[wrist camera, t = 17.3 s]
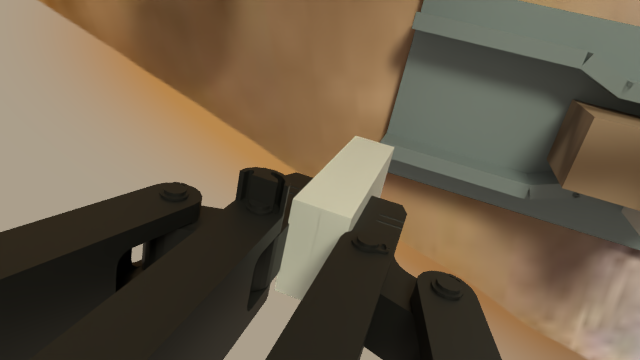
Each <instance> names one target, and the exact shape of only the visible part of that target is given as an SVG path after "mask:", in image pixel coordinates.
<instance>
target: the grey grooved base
mask: <svg viewBox="0 0 640 360" xmlns="http://www.w3.org/2000/svg"><path fill="white" fill-rule="evenodd" d="M412 29H416V30H415V34H414V37H413V41H412V44H411V48H410V52H409V55H408V59H407V62H406V66H405V70H404V73H403V77H402V80H401V84H400V87H399V91H398V95H397V98H396V102H395V105H394V109H393V112H392V116H391V120H390V123H389V127H388V130H387V133H386V135H385V136H384V137H383V139H382V140H381V142H380V143H382V144H385V145H389V146H392V147H395V148H394V151H393V154H392V158H391V161H390V165H389V168H388V172H389V173H392V174H395V175H398V176H401V177H405V178H408V179H411V180H414V181H418V182H421V183H424V184H427V185H431V186H434V187H437V188H440V189H443V190H447V191H450V192H453V193H456V194H460V195H463V196H466V197H469V198H473V199H476V200H479V201H482V202H485V203H489V204H492V205H495V206H498V207H502V208H505V209H508V210H511V211H515V212H518V213H521V214H524V215H527V216H531V217H534V218H537V219H540V220H544V221H547V222H550V223H553V224H556V225H560V226H563V227H566V228H569V229H573V230H576V231H579V232H582V233H586V234H589V235H592V236H595V237H598V238H602V239H605V240H608V241H611V242H615V243H618V244H621V245H624V246H628V247H631V248H634V249H637V250H640V211H638V210H635V209H631V208H628V207H625V206H621V205H618V204H614V203H611V202H608V201H604V200H601V199H597V198H594V197H591V196H587V195H584V194H580V193H577V192H574V191H570V190H567V189H563V188H562V187H561V185H560V184H559V182H558V180H557V178H556V176H555V174H554V172H553V170H552V168H551V166H550V165H549V163H548V161H547V157H548V154H549V152H550V150H551V148H552V145H553V143H554V141H555V138H556V136H557V134H558V132H559V129H560V127H561V125H562V122H563V120H564V118H565V116H566V113H567V111H568V109H569V106H570V104H571V102H572V100H573V99H574V100H578V101H582V102H586V103H590V104H594V105H597V106H601V107H605V108H609V109H613V110H617V111H621V112H625V113H629V114H633V115H637V116H640V27H639V26H634V25H630V24H625V23H620V22H616V21H611V20H606V19H602V18H597V17H592V16H588V15H583V14H579V13H574V12H569V11H565V10H560V9H555V8H551V7H546V6H542V5H537V4H532V3H528V2H523V1H518V0H424V2H423V5H422V9H421V12H416V15H415V18H414V22H413V26H412Z"/></svg>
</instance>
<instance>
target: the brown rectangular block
mask: <svg viewBox="0 0 640 360" xmlns="http://www.w3.org/2000/svg"><path fill="white" fill-rule="evenodd" d="M547 161H548V163H549V165H550V166H551V168H552V170H553V172H554V174H555V176H556V178H557V180H558V182H559V184H560V185H561V187H562V188H563V189H567V190H570V191H574V192H577V193H580V194H584V195H587V196H591V197H594V198H597V199H601V200H604V201H608V202H611V203H614V204H618V205H621V206H625V207H628V208H631V209H635V210H638V211H640V116H637V115H633V114H629V113H625V112H621V111H617V110H613V109H609V108H605V107H601V106H597V105H594V104H590V103H586V102H582V101H578V100H574V99H573V100H572V102H571V104H570V106H569V109H568V111H567V113H566V116H565V118H564V120H563V122H562V125H561V127H560V129H559V132H558V134H557V136H556V138H555V141H554V143H553V145H552V148H551V150H550V152H549V154H548V157H547Z"/></svg>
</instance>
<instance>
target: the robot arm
mask: <svg viewBox="0 0 640 360" xmlns="http://www.w3.org/2000/svg"><path fill="white" fill-rule="evenodd" d="M394 148H395V147H392V146H389V145H385V144H382V143H379V142H375V141H372V140H369V139H365V138H362V137H358V136H355V137H354V138H353V139H352V140H351V141H350V142H349V143H348V144H347V145H346V146H345V147H344V148H343V149H342V150H341V151H340V152H339V153H338V154H337V155H336V156H335V157H334V158H333V159H332V160H331V161H330V162H329V163H328V164H327V165H326V166H325V167H324V168H323V169H322V170H321V171H320V172H319V173H318V174H317V175H316V176H315V177H314V178H312V177H309V176H306V175H303V174H300V173H293V174H289V175H284V174H282V173H280V172H277V171H275V170H271V169H267V168H258V167H253V168H245V169H243V170H240V174H239V181H238V187H237V194H236V200H235V201H234V202H232V203H231V204H230V205H228V206H227V207H226V208H224V209H219V208H213V207H207V206H201V201H202V195H201V193H200V191H198V190H197V189H196V188H194V187H191V186H189V185H187V184H184V183H181V184H180V183H179V182H173V183H161V184H156V185H153V186H150V187H146V188H143V189H140V190H137V191H133V192H130V193H127V194H124V195H120V196H117V197H114V198H111V199H107V200H104V201H101V202H98V203H94V204H91V205H88V206H85V207H81V208H78V209H75V210H72V211H68V212H65V213H62V214H59V215H55V216H52V217H49V218H45V219H42V220H39V221H36V222H33V223H29V224H26V225H23V226H19V227H16V228H13V229H10V230H6V231H3V232H0V360H223V359H224V358H225V356H226V355H227V354H228V352H229V351H230V349H231V348H232V347H233V345H234V344H235V343H236V341H237V340H238V338H239V337H240V336H241V334H242V333H243V332H244V330H245V329H246V327H247V326H248V325H249V323H250V322H251V320H252V319H253V318H254V316H255V315H256V314H257V312H258V311H259V309H260V308H261V307H262V305H263V304H264V303H265V301H266V299H267V296H268V292H269V288H270V283H271V282H272V280H273V279H274V278H275V276H276V275H277V279H276V284H275V288H274V290H276V291H279V292H281V293H284V294H286V295H289V296H292V297H294V298H297V299H300V300H301V302H300V304H299V305H298V307H297V309H296V310H295V312H294V314H293V315H292V317H291V319H290V320H289V322H288V324H287V325H286V327H285V329H284V330H283V332H282V333H281V335H280V337H279V338H278V340H277V342H276V343H275V345H274V346H273V348H272V350H271V351H270V353H269V355H268V356H267V358H266V360H360V357H361V354H362V350H363V348H364V347H365V348H367V349H369V350H370V351H371V352H373V353H374V354H376V355H377V356H378V357H380V358H381V359H383V360H502V359H501V357H500V354H499V351H498V349H497V346H496V344H495V341H494V339H493V336H492V334H491V331H490V329H489V326H488V324H487V321H486V318H485V316H484V313H483V311H482V308H481V306H480V303H479V301H478V298H477V296H476V294H475V293H474V291H473V290H472V288H471V287H469V286H468V285H467V284H466V283H465V282H464V281H462V280H461V279H459V278H458V277H456V276H454V275H451V274H446V273H444V272H439V271H427V272H423V273H422V274H420V275H419V276H418V278H415V277H414V276H412V275H411V274H409V273H408V272H406V271H405V270H403V269H402V268H401V267H400V266H399V264H398V263H397V262H396V260H395V257H394V253H395V250H396V246H397V243H398V241H399V237H400V234H401V231H402V228H403V225H404V222H405V219H406V216H407V213H406V211H405V209H404V207H403V205H400V204H396V203H393V202H390V201H387V200H384V199H381V198H380V196H381V192H382V189H383V185H384V182H385V179H386V175H387V172H388V168H389V165H390V161H391V158H392V154H393V151H394ZM140 244H143V255H142V260H140V261H137V262H133V263H132V261H131V253H132V248H133V247H136V246H138V245H140Z"/></svg>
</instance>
